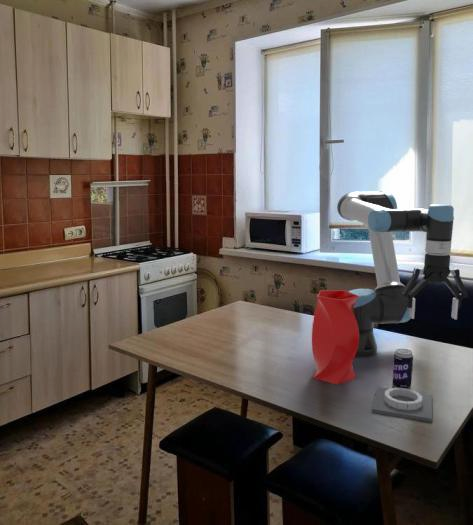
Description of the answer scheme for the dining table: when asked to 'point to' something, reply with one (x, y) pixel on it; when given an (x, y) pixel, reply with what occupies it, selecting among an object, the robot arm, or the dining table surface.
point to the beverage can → (402, 368)
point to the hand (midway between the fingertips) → (432, 318)
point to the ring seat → (403, 403)
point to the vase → (335, 336)
